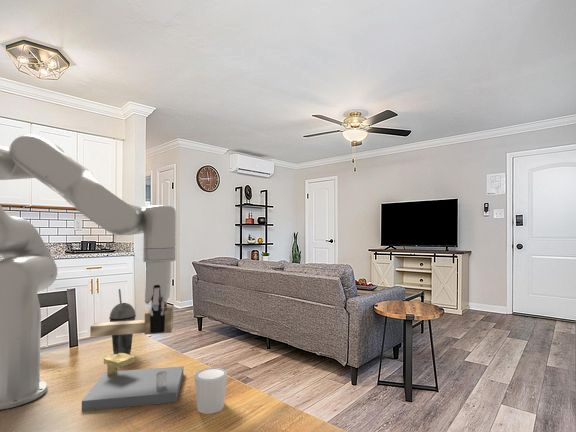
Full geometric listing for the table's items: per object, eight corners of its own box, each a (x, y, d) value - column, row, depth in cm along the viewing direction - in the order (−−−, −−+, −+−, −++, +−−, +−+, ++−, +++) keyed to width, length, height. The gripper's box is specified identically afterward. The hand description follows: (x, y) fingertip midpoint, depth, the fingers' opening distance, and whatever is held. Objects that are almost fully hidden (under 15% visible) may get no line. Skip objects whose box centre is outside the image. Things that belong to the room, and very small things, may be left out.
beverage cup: (140, 354, 106) (141, 287, 106) (117, 361, 100) (118, 291, 100) (126, 349, 110) (127, 285, 110) (103, 356, 104) (104, 289, 104)
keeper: (99, 384, 85) (100, 357, 86) (117, 376, 89) (118, 351, 90) (117, 390, 82) (118, 362, 82) (135, 382, 86) (135, 356, 86)
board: (81, 410, 73) (81, 401, 73) (104, 380, 88) (105, 372, 88) (176, 401, 76) (176, 392, 77) (183, 374, 91) (183, 366, 91)
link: (88, 338, 79) (88, 316, 80) (96, 331, 85) (96, 310, 85) (171, 332, 84) (171, 311, 84) (173, 326, 90) (173, 306, 90)
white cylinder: (219, 417, 70) (219, 381, 71) (188, 413, 72) (188, 378, 72) (231, 400, 77) (231, 368, 77) (202, 397, 78) (203, 366, 79)
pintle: (155, 400, 77) (155, 375, 77) (157, 396, 79) (157, 371, 79) (165, 399, 77) (166, 374, 78) (167, 395, 80) (167, 370, 80)
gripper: (148, 253, 94) (148, 320, 93) (137, 258, 77) (136, 340, 77) (177, 252, 96) (177, 318, 95) (172, 257, 79) (172, 337, 78)
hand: (159, 327), depth 86 cm, fingers closed on link, 6 cm apart
